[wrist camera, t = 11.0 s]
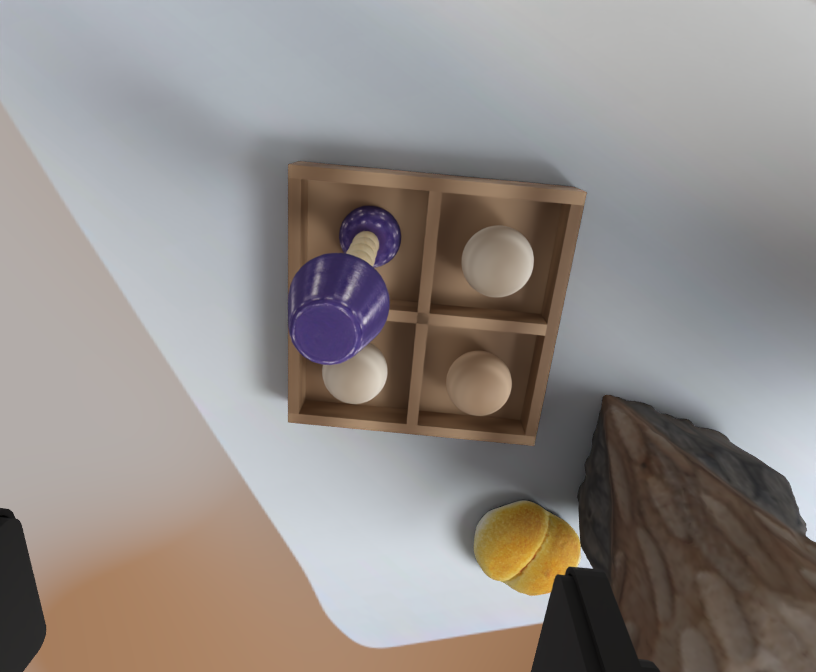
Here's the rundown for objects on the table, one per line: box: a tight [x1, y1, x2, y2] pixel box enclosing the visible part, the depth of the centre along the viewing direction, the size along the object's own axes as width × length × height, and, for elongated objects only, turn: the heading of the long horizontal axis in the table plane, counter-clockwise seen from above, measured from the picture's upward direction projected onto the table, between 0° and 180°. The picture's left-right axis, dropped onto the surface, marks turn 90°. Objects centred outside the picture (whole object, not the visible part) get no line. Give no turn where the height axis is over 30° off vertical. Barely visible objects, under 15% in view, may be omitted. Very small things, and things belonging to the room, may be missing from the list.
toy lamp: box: [288, 205, 401, 365], centre depth 28 cm, size 5×5×17 cm
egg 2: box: [462, 225, 534, 297], centre depth 34 cm, size 5×5×5 cm
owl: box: [577, 395, 816, 672], centre depth 34 cm, size 13×13×20 cm
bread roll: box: [474, 500, 581, 596], centre depth 45 cm, size 8×9×4 cm
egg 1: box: [322, 343, 387, 404], centre depth 37 cm, size 5×5×5 cm
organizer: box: [288, 161, 587, 446], centre depth 37 cm, size 18×18×3 cm
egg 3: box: [446, 351, 512, 416], centre depth 37 cm, size 5×5×5 cm
